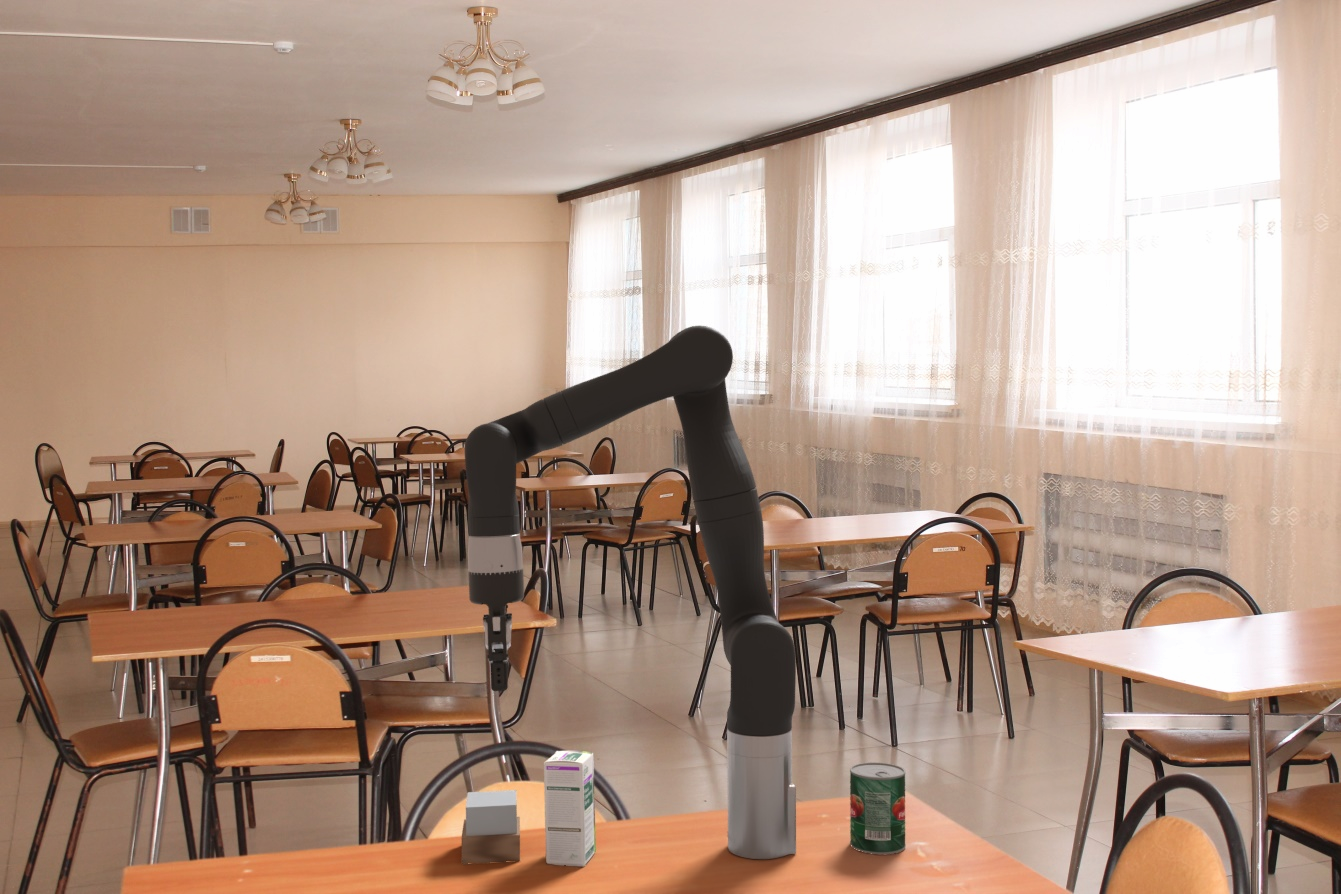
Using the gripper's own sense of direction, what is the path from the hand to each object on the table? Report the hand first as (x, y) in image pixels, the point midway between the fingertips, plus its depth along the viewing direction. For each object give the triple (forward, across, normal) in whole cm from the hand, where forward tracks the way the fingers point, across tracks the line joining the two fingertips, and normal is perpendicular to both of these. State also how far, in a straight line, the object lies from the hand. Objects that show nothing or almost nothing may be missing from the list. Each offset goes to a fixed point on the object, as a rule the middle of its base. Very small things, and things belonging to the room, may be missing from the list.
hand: (500, 683), depth 165 cm
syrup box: (+25, 0, -9) cm, 27 cm away
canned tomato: (+27, -1, -53) cm, 59 cm away
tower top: (+21, +4, +2) cm, 22 cm away
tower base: (+25, +4, +2) cm, 26 cm away
